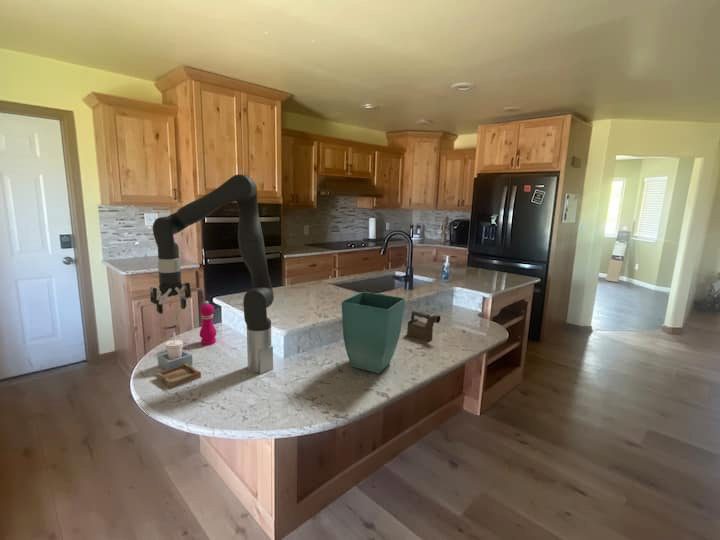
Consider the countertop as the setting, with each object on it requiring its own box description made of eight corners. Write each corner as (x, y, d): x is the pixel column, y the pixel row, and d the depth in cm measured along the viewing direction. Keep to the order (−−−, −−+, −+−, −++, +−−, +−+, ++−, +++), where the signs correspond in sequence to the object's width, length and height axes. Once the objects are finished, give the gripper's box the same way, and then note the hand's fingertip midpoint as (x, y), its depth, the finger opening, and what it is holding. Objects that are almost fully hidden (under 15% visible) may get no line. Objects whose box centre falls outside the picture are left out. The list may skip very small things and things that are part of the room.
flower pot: (360, 351, 169) (362, 290, 164) (401, 360, 161) (405, 297, 155) (338, 368, 152) (340, 301, 146) (384, 380, 143) (387, 309, 138)
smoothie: (172, 370, 145) (170, 336, 142) (163, 366, 148) (160, 332, 145) (187, 364, 150) (185, 331, 147) (178, 360, 153) (176, 328, 151)
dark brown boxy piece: (431, 343, 181) (434, 317, 178) (405, 334, 192) (407, 309, 189) (440, 339, 187) (443, 314, 184) (414, 330, 198) (416, 306, 195)
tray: (201, 377, 140) (200, 372, 140) (171, 388, 132) (171, 383, 131) (186, 368, 147) (185, 363, 146) (157, 378, 138) (156, 373, 138)
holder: (192, 365, 150) (192, 354, 149) (169, 373, 143) (168, 362, 142) (181, 358, 155) (180, 348, 154) (158, 365, 148) (157, 355, 147)
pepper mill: (213, 346, 169) (211, 303, 165) (197, 345, 169) (195, 302, 165) (219, 340, 176) (217, 299, 172) (204, 339, 176) (202, 298, 172)
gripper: (154, 274, 134) (157, 317, 137) (192, 268, 145) (194, 309, 148) (145, 270, 138) (148, 312, 141) (183, 266, 149) (185, 305, 152)
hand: (172, 310), depth 144 cm, fingers open, 8 cm apart
